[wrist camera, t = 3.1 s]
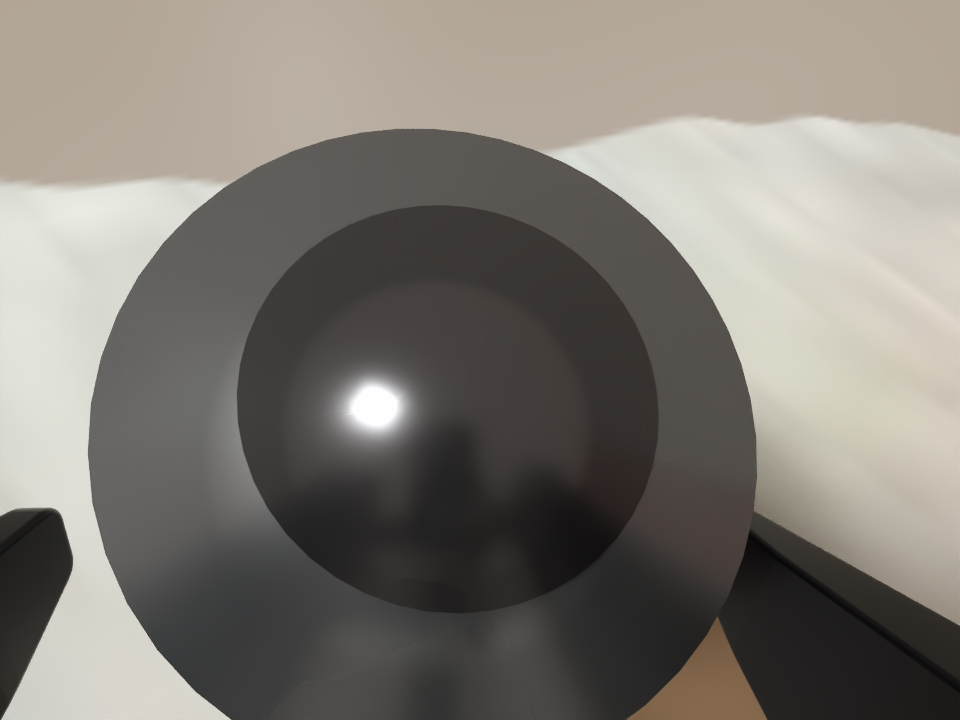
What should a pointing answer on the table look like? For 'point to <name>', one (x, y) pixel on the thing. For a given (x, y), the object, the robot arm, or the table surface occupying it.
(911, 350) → the table surface
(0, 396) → the table surface
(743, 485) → the steel hub
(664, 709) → the mounting plate
